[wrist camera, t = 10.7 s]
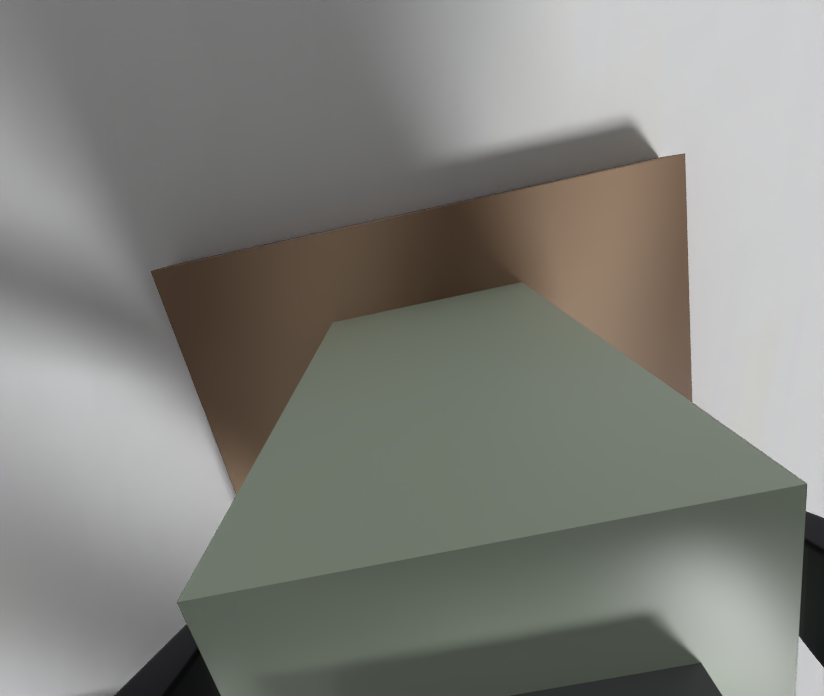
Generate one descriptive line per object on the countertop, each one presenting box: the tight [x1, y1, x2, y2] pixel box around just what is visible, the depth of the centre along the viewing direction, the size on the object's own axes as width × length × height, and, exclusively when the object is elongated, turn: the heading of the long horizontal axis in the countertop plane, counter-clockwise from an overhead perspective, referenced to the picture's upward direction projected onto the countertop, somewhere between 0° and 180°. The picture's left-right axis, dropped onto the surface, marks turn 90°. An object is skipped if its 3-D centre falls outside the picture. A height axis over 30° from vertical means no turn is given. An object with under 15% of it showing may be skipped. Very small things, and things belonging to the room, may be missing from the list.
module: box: [177, 282, 807, 696], centre depth 8 cm, size 4×8×9 cm, turn 12°
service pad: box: [151, 154, 692, 495], centre depth 13 cm, size 12×12×1 cm
